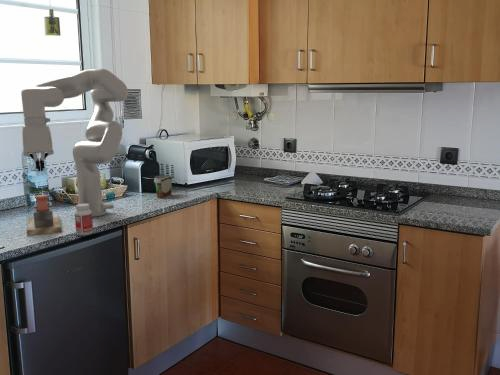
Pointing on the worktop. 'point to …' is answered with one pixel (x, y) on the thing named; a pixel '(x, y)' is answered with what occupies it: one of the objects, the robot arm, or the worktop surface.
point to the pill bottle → (83, 220)
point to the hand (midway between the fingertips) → (40, 170)
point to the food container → (163, 186)
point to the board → (43, 222)
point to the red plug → (42, 202)
